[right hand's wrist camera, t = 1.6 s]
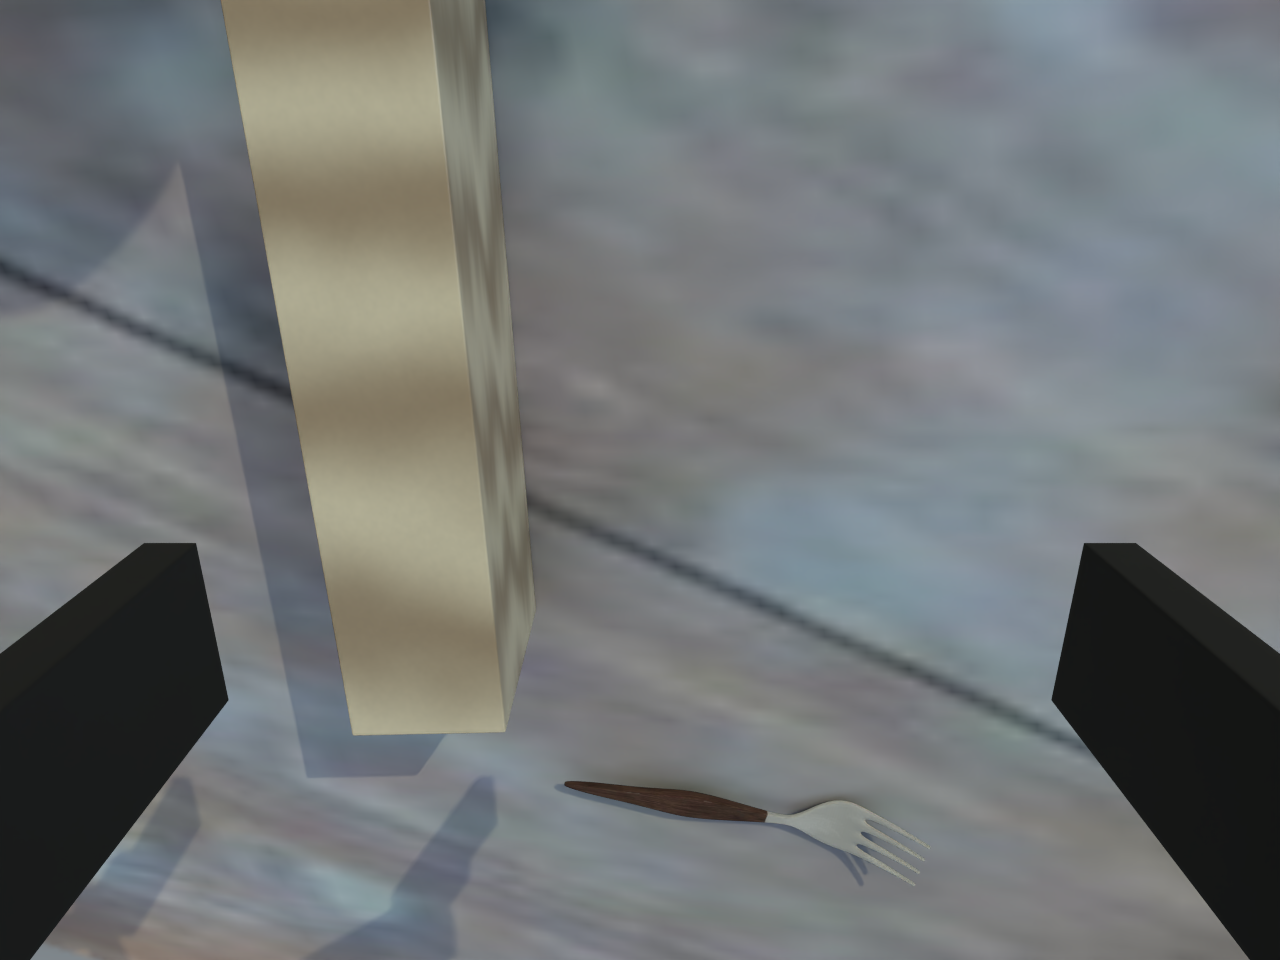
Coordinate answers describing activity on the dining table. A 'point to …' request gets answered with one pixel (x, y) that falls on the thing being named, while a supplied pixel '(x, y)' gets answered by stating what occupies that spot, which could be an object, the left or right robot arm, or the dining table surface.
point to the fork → (770, 817)
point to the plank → (396, 342)
